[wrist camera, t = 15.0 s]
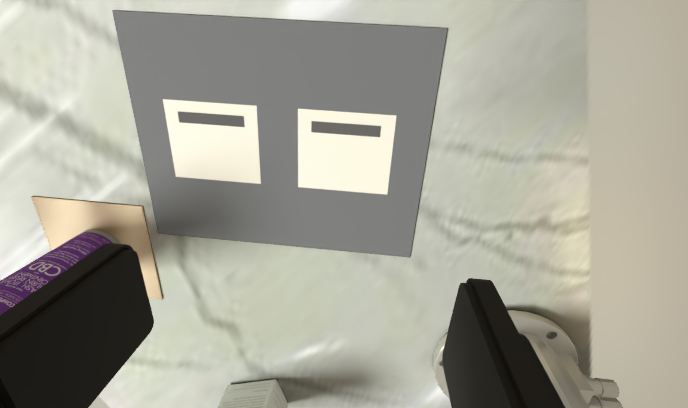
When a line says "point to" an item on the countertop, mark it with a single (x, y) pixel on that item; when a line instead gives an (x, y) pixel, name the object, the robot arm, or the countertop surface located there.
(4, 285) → the container
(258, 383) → the skincare box
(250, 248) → the countertop surface
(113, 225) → the oak pad
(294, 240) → the label mat
